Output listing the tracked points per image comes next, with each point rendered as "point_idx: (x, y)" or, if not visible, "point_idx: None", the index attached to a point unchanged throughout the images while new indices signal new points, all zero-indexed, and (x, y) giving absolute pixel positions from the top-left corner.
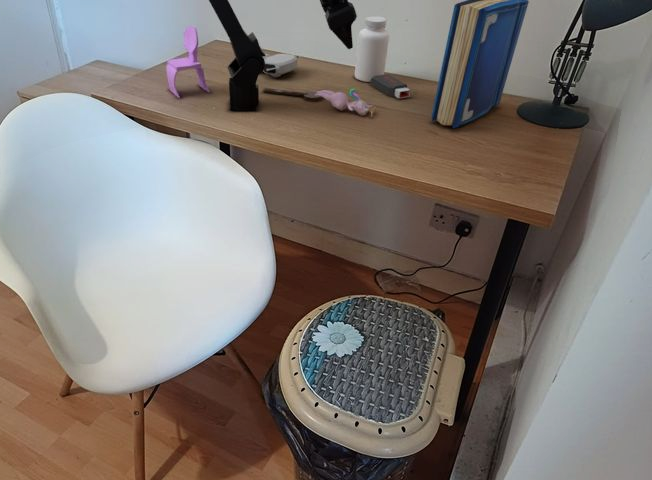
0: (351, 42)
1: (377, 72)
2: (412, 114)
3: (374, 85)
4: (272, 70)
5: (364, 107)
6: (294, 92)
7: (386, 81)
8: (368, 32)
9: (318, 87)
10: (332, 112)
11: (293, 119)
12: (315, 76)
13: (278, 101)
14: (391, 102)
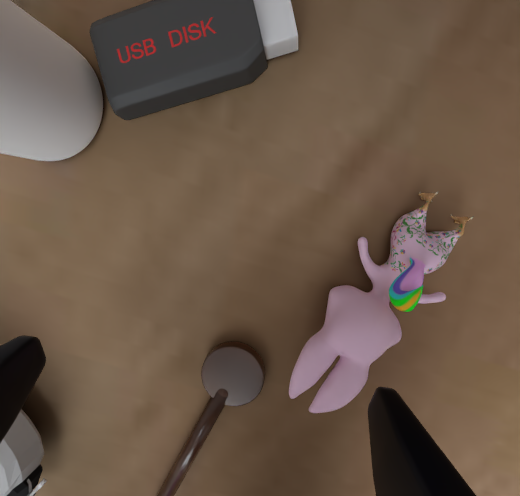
0: (428, 443)
1: (78, 72)
2: (459, 43)
3: (151, 110)
4: (36, 482)
5: (447, 247)
6: (206, 432)
7: (189, 63)
8: None
9: (134, 321)
10: None
11: None
12: (26, 302)
13: (246, 481)
14: (319, 91)
